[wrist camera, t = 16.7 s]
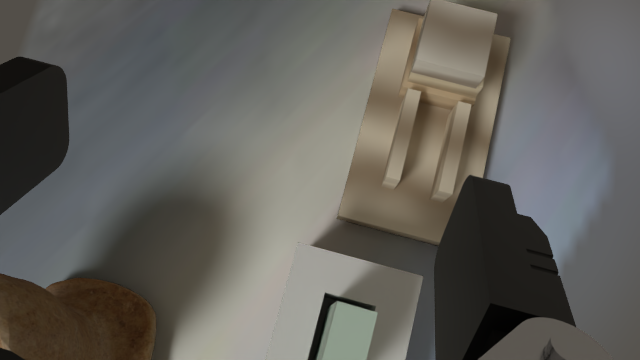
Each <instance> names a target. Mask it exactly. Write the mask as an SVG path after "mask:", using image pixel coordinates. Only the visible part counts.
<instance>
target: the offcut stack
mask: <svg viewBox="0 0 640 360" xmlns="http://www.w3.org/2000/svg"><path fill="white" fill-rule="evenodd" d="M497 15H498V14H496V13H492V12H488V11H484V10H480V9H476V8H472V7H468V6H464V5H460V4H456V3H452V2H448V1H444V0H430V3H429V5H428V7H427V10H426V12H425V15H424V18H423V19H422V18H419V20H418V22H417V25H416V28H415V30H414V34H413V38H412V42H411V46H410V50H409V54H408V58H407V62H406V66H405V70H404V74H403V78H402V82H401V86H400V90H399V94H398V97H402V98H404V96H405V94H406V92H407V90H408V88H409V89H413V90H417V91H421V95H420V99H419V102H421V103H425V104H429V105H433V106H437V107H441V108H444V109H448V110H452V109H453V108H454V107H455V105H456V104H457V102H458V101H460V102H464V103H468V104H472V105H471V108H472V107H473V106H474V104H475V99H476V96H477V94H478V93H479V92H480V90H481V89H482V87H483V83H484V78H485V73H486V68H487V64H488V59H489V54H490V49H491V44H492V40H493V35H494V30H495V25H496V19H497Z"/></svg>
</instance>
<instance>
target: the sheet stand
mask: <svg viewBox="0 0 640 360" xmlns="http://www.w3.org/2000/svg"><path fill="white" fill-rule="evenodd" d="M422 281H423V276H421V275H417V274H413V273H410V272H406V271H402V270H399V269H395V268H391V267H388V266H384V265H380V264H376V263H373V262H369V261H365V260H362V259H358V258H354V257H351V256H347V255H343V254H339V253H336V252H332V251H328V250H325V249H321V248H317V247H314V246H310V245H306V244H302V243H299V242H298V244H297V248H296V251H295V255H294V259H293V262H292V266H291V269H290V273H289V276H288V280H287V284H286V287H285V291H284V294H283V298H282V302H281V305H280V309H279V312H278V316H277V320H276V323H275V327H274V330H273V334H272V337H271V341H270V345H269V348H268V352H267V355H266V359H265V360H314V356H315V352H316V348H317V345H318V341H319V337H320V333H321V330H322V326H323V322H324V318H325V315H326V311H327V307H328V306H330V305H332V304H333V303H335V302H337V301H339V302H342V303H346V304H349V305H353V306H356V307H360V308H363V309H367V310H370V311H374V312H378V314H377V318H376V322H375V326H374V330H373V334H372V339H371V343H370V347H369V351H368V355H367V359H366V360H405V359H406V354H407V349H408V345H409V340H410V336H411V331H412V326H413V322H414V317H415V313H416V308H417V304H418V299H419V294H420V290H421V285H422Z"/></svg>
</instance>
